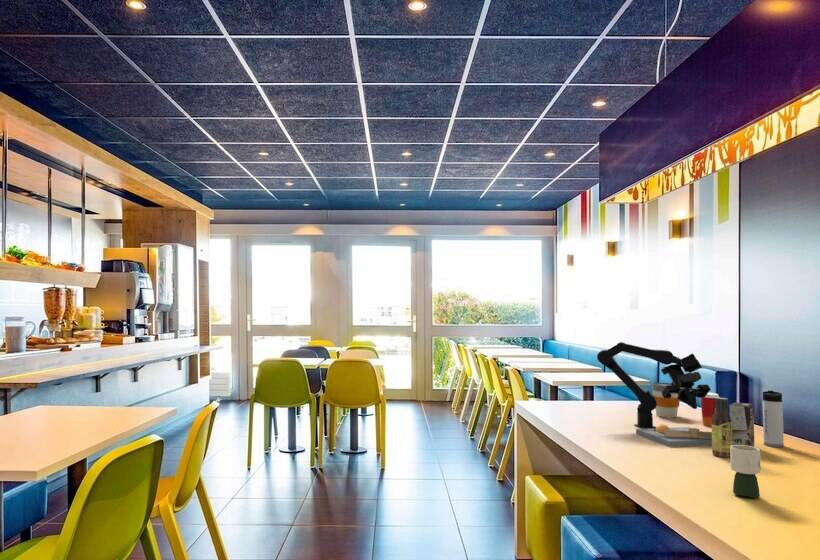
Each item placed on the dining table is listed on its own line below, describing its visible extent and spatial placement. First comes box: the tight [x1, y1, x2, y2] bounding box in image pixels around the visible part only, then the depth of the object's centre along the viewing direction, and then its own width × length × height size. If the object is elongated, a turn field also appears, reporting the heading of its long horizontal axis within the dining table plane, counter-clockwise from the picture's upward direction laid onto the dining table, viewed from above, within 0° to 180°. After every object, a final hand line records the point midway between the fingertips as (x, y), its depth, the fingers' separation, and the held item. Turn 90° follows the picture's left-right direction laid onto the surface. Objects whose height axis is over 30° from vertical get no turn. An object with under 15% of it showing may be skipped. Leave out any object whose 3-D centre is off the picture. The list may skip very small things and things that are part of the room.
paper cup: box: [700, 392, 720, 428], centre depth 243 cm, size 8×8×14 cm
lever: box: [664, 408, 716, 438], centre depth 210 cm, size 4×21×11 cm, turn 78°
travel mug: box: [762, 390, 785, 448], centre depth 208 cm, size 6×7×20 cm
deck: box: [635, 426, 712, 447], centre depth 217 cm, size 22×24×2 cm
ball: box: [656, 423, 670, 434], centre depth 220 cm, size 5×5×5 cm
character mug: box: [729, 445, 762, 499], centre depth 151 cm, size 11×7×13 cm, turn 167°
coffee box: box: [728, 401, 756, 447], centre depth 203 cm, size 9×6×16 cm
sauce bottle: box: [711, 397, 732, 458], centre depth 193 cm, size 7×6×20 cm
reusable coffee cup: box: [651, 382, 681, 418], centre depth 264 cm, size 13×13×15 cm
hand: (695, 408), depth 222 cm, fingers closed
